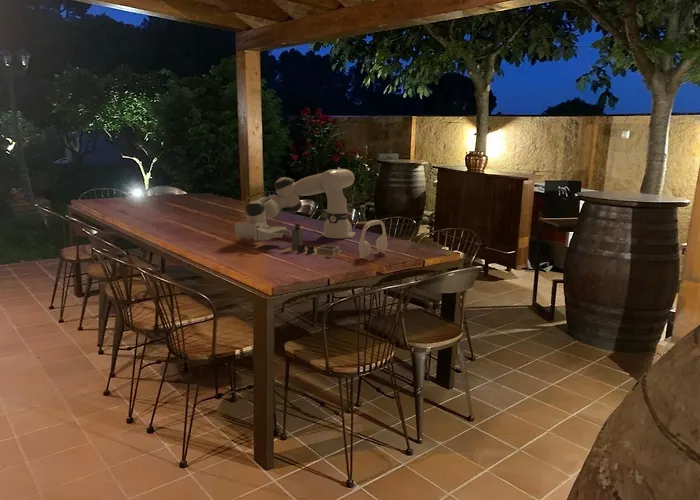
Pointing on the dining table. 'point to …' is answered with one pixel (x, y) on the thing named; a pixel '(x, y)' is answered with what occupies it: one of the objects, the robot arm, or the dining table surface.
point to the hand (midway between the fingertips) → (286, 234)
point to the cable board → (316, 250)
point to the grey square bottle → (297, 237)
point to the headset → (380, 242)
